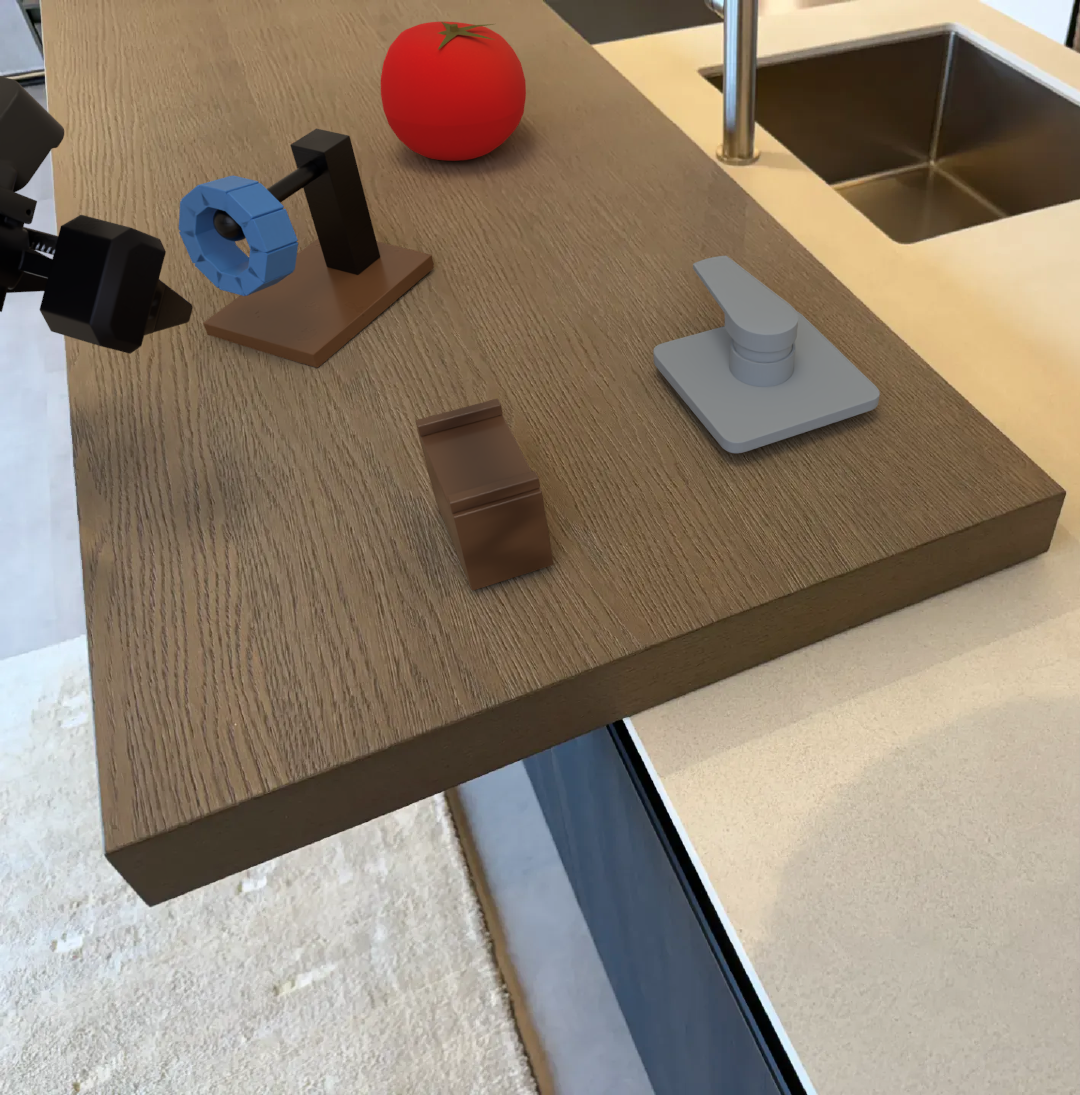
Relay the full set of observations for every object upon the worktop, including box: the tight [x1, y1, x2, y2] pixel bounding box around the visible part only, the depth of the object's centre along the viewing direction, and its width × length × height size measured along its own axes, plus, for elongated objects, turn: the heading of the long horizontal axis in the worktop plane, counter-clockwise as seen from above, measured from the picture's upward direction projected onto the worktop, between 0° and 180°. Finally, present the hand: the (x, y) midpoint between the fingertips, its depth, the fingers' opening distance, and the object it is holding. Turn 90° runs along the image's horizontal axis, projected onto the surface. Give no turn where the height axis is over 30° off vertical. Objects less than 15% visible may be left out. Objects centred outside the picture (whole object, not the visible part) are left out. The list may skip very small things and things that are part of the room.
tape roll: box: [178, 175, 299, 296], centre depth 71 cm, size 3×8×7 cm, turn 68°
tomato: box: [380, 21, 527, 162], centre depth 95 cm, size 12×14×11 cm
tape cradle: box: [414, 398, 554, 591], centre depth 61 cm, size 5×8×7 cm, turn 25°
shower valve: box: [652, 255, 881, 454], centre depth 73 cm, size 12×6×15 cm
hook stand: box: [202, 128, 435, 368], centre depth 77 cm, size 15×10×11 cm, turn 158°
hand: (129, 296), depth 63 cm, fingers open, 9 cm apart
